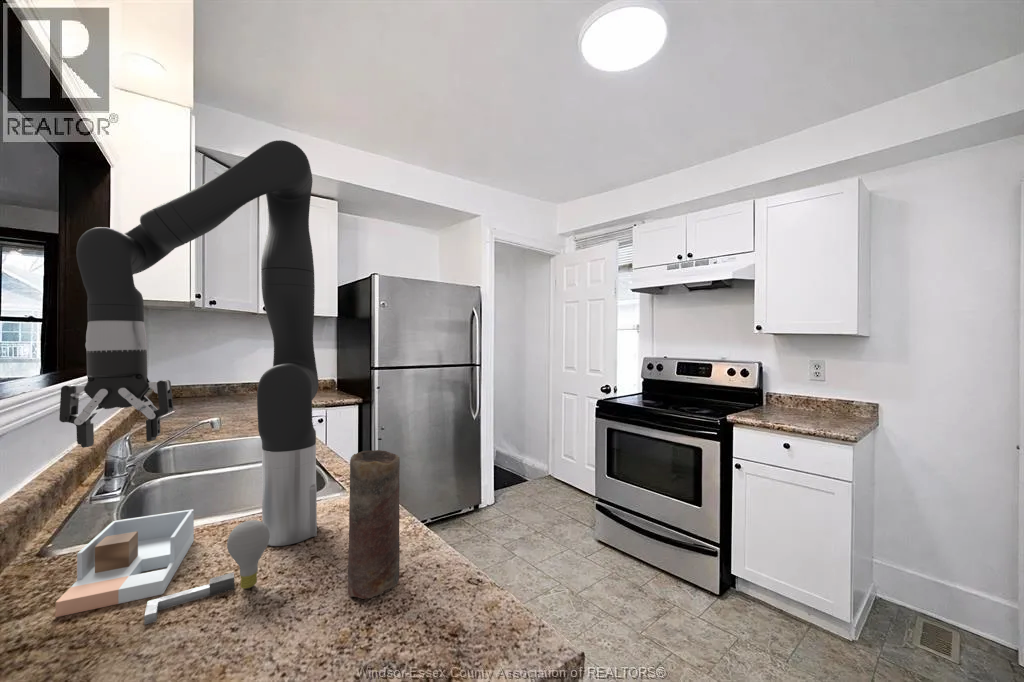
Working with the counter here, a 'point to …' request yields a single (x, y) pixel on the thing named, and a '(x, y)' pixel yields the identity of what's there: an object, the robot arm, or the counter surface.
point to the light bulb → (248, 549)
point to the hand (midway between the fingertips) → (120, 443)
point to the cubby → (157, 548)
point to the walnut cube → (116, 551)
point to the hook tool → (188, 596)
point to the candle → (373, 523)
